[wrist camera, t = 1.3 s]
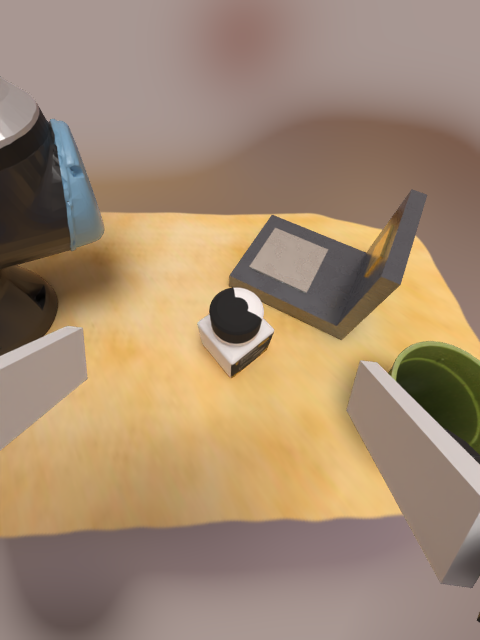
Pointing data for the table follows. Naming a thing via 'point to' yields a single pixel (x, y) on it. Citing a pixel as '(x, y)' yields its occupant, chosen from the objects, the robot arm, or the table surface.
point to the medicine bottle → (235, 329)
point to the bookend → (327, 270)
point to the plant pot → (443, 386)
